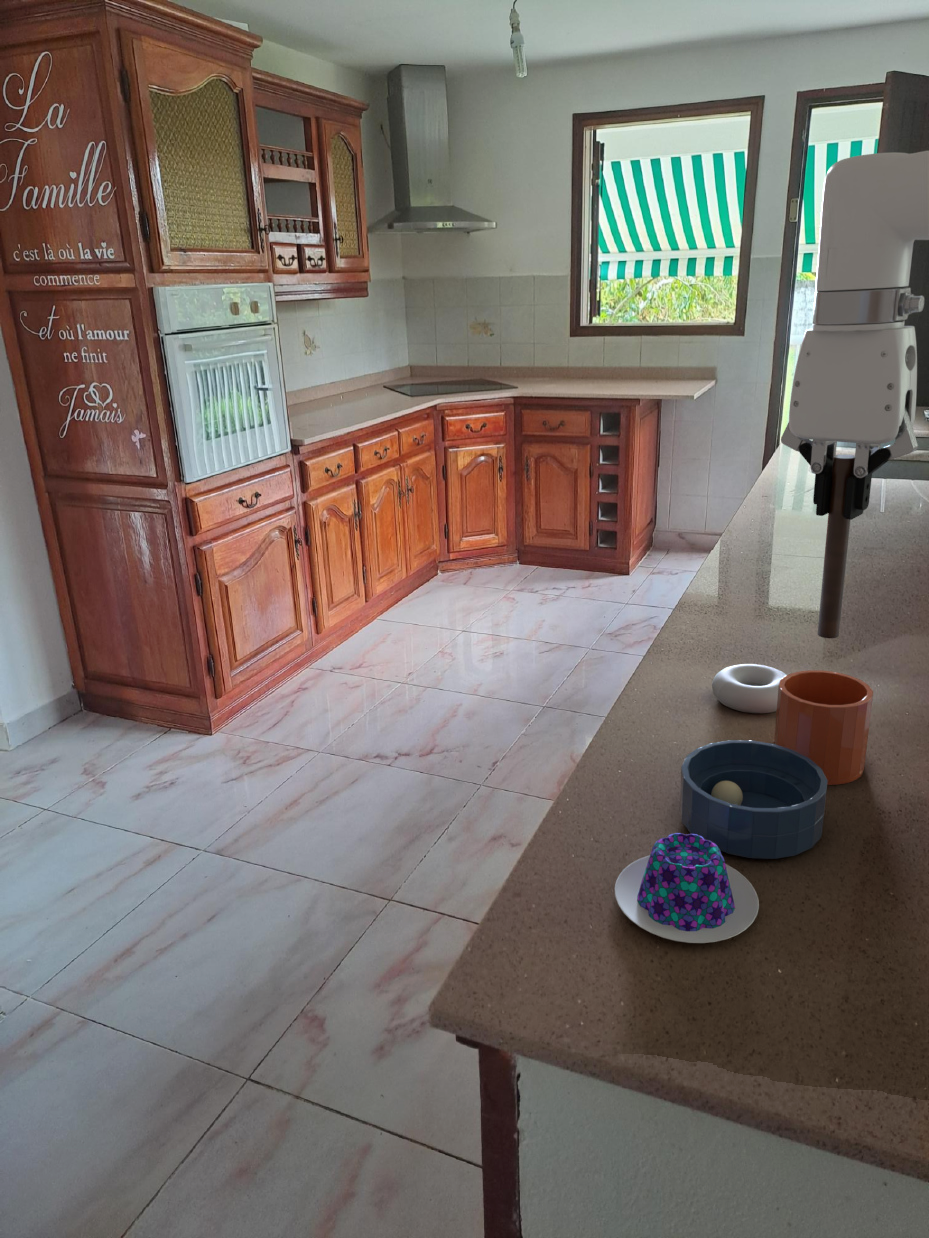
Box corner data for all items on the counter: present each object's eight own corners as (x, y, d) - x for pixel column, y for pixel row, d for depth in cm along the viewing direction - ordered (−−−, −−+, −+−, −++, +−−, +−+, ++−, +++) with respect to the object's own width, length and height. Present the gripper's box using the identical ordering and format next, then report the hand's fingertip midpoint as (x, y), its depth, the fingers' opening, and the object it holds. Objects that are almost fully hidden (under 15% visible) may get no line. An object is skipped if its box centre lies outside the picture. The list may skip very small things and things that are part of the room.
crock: (876, 758, 96) (886, 683, 93) (843, 794, 90) (852, 715, 87) (794, 734, 102) (801, 663, 99) (758, 766, 96) (763, 691, 93)
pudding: (612, 943, 71) (613, 890, 69) (616, 855, 82) (616, 806, 80) (767, 956, 69) (772, 901, 67) (749, 863, 80) (753, 814, 78)
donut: (810, 702, 110) (744, 676, 117) (813, 677, 108) (746, 652, 116) (760, 727, 104) (694, 698, 112) (763, 701, 103) (695, 673, 111)
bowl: (843, 816, 86) (849, 767, 84) (785, 882, 77) (789, 829, 75) (720, 773, 95) (722, 727, 93) (654, 828, 86) (655, 779, 84)
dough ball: (747, 807, 88) (749, 781, 87) (732, 821, 86) (734, 794, 84) (719, 797, 90) (721, 771, 88) (704, 810, 88) (706, 784, 86)
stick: (842, 634, 89) (860, 455, 82) (833, 640, 87) (851, 459, 81) (822, 629, 90) (838, 453, 84) (814, 635, 89) (830, 457, 82)
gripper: (970, 306, 75) (941, 517, 81) (791, 311, 86) (778, 497, 92) (941, 311, 70) (913, 535, 76) (754, 316, 81) (743, 512, 87)
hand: (839, 513), depth 84 cm, fingers closed on stick, 2 cm apart
